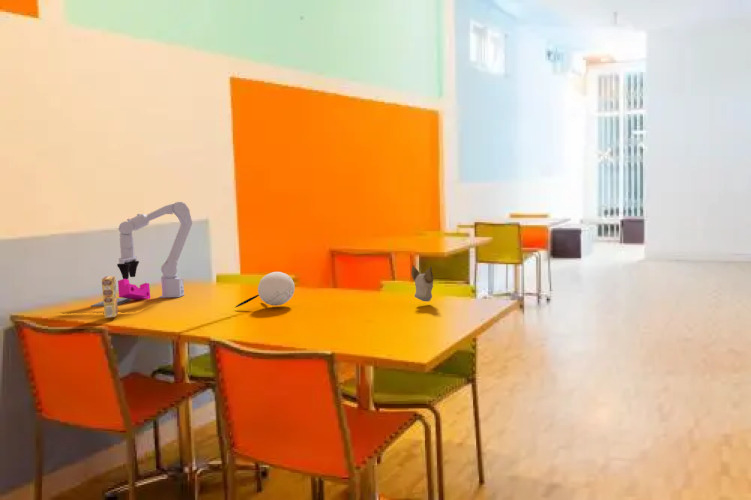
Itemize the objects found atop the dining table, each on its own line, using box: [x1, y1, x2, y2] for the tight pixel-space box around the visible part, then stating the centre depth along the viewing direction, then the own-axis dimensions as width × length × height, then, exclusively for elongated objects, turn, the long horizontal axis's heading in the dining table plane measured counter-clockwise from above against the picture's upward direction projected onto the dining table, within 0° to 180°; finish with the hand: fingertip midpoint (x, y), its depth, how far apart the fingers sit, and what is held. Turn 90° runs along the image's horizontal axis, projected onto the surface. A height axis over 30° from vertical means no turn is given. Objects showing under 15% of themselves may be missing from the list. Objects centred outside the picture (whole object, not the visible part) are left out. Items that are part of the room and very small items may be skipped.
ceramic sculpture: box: [410, 265, 434, 302], centre depth 289 cm, size 11×9×15 cm
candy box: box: [101, 275, 119, 319], centre depth 282 cm, size 9×4×15 cm, turn 13°
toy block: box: [117, 278, 151, 301], centre depth 322 cm, size 15×6×8 cm, turn 151°
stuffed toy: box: [235, 271, 295, 308], centre depth 295 cm, size 19×14×25 cm
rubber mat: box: [90, 297, 133, 307], centre depth 318 cm, size 11×20×1 cm, turn 177°
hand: (129, 278), depth 324 cm, fingers open, 7 cm apart
